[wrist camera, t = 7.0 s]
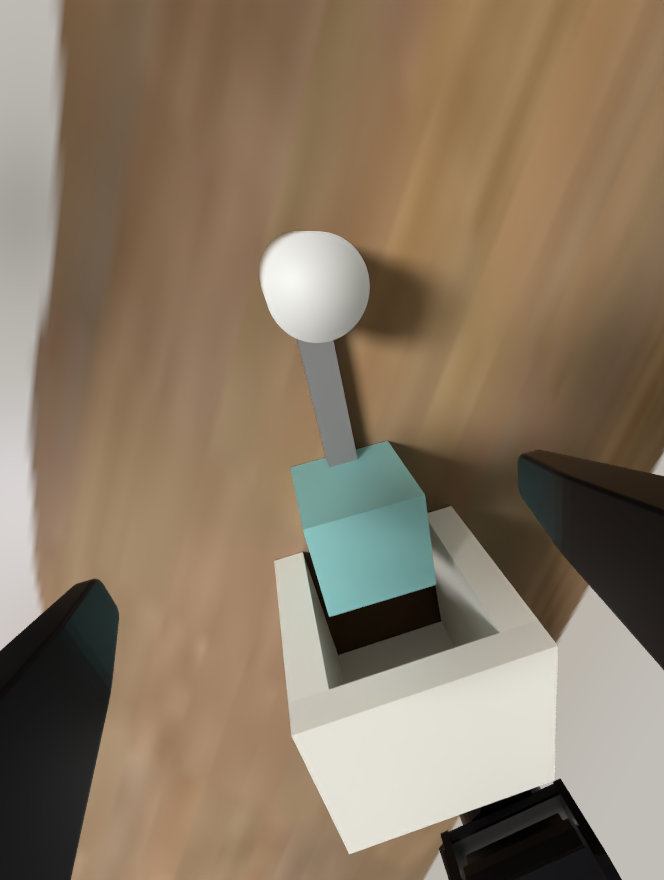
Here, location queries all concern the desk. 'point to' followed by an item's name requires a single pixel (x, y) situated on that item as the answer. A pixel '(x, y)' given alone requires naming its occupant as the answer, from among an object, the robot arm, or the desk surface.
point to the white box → (422, 698)
